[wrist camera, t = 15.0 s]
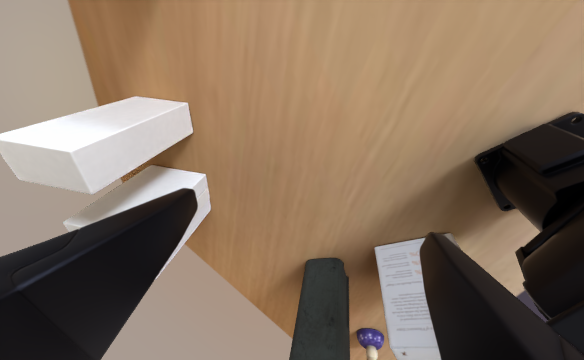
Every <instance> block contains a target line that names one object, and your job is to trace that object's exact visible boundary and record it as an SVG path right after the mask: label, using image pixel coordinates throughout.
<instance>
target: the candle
mask: <svg viewBox="0 0 584 360" xmlns="http://www.w3.org/2000/svg"><path fill="white" fill-rule="evenodd" d="M289 360H350V338H349V278H348V276H346V273H345V270H344V263H343V262H342V261H341V260H340V259H337V258H325V259H312V260H308V261H307V262H306V266H305V272H304V277H303V283H302V289H301V295H300V300H299V306H298V312H297V318H296V323H295V329H294V335H293V341H292V347H291V352H290V358H289Z"/></svg>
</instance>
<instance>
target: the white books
mask: <svg viewBox="0 0 584 360" xmlns="http://www.w3.org/2000/svg"><path fill="white" fill-rule="evenodd" d="M207 186H208V184H207V178H206V174H201V173H196V172H190V171H184V170H178V169H172V168H166V167H161V166H155V165H150V166H149V167H147V168H146V169H144V170H143V171H141V172H139V173H138V174H136V175H135V176H133V177H132V178H130V179H129V180H127V181H126V182H124V183H123V184H121V185H120V186H118V187H116V188H115V189H113V190H112V191H110V192H109V193H107V194H106V195H104V196H103V197H101V198H100V199H98V200H96V201H95V202H93V203H92V204H90V205H89V206H87V207H86V208H84V209H83V210H81V211H80V212H79V213H77V214H75V215H74V216H72V217H70V218H69V219H67V220H66V221H64V222H63V224H64V225H65V226H66V228H67V230H68V231H69V232H71V231H73V230H76V229H80V228H81V227H84V226H86V225H89V224H92V223H94V222H97V221H99V220H102V219H104V218H107V217H109V216H112V215H115V214H117V213H120V212H122V211H125V210H127V209H130V208H133V207H135V206H138V205H140V204H143V203H145V202H148V201H150V200H153V199H156V198H158V197H161V196H163V195H166V194H168V193H171V192H174V191H176V190H179V189H181V188H190V189H193V190H194V191H195V193H196V198H197V203H198V209H197V211H196V213H195V215H194V217H193V219H192V221H191V223H190V225H189V226H188V228H187V230H186V232H185V234H184V236H183V238H182V239H181V241H180V243H179V244H178V246H177V247H176V249H175V250H174V252H173V253H172V255H171V256H170V258H169V259H168V261H167V262H166V264H165V265H164V267H163V268H162V270H161V271H160V273H159V274H158V276H157V277H156V278H155V279H157V278H158V277H159V275H160V274H161V273H162V271H163V270H164V269H165V268H166V266H167V265H168V264H169V262H170V261H171V260H172V259H173V257H174V256H175V255H176V254H177V252H178V251H179V250H180V248H181V247H182V246H183V245H184V243H185V242H186V241H187V240H188V238H189V237H190V236H191V234H192V233H193V232H194V231H195V229H196V228H197V227H198V226H199V224H200V223H201V222H202V220H203V219H204V218H205V217H206V215H207V214H208V213H209V211H210V210H211V205H210V195H209V189H208V187H207Z"/></svg>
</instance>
